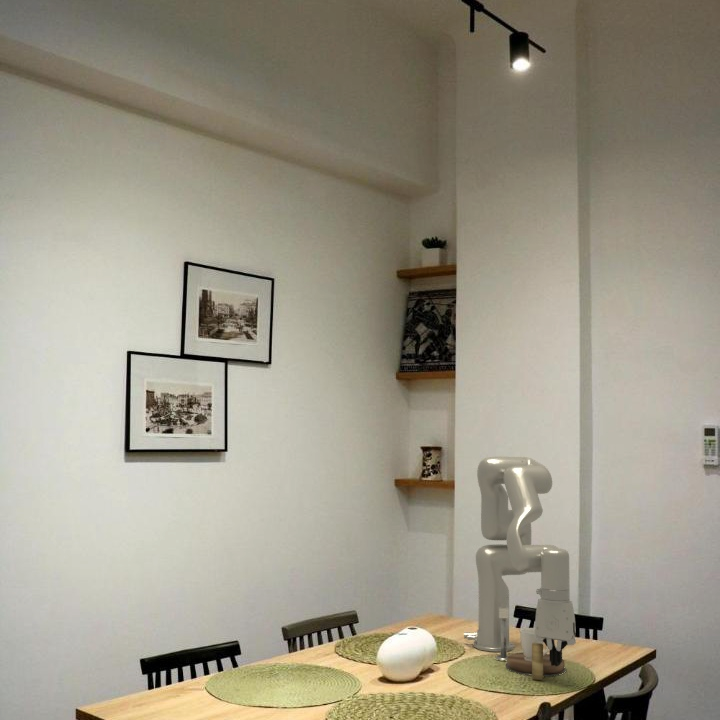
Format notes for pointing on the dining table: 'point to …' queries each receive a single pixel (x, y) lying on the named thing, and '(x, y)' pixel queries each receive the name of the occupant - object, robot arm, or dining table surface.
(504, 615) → the gauge post
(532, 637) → the cup
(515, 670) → the turntable base
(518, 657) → the turntable
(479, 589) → the robot arm
